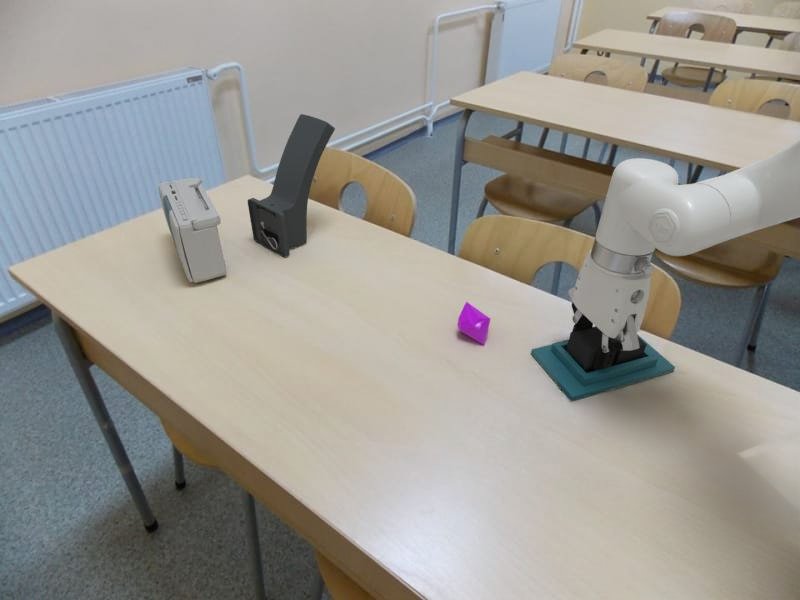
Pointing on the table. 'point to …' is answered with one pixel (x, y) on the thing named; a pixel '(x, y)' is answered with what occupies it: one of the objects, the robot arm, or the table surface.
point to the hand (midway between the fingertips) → (589, 353)
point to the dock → (597, 381)
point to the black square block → (585, 345)
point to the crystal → (473, 323)
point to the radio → (193, 228)
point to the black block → (629, 354)
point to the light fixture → (290, 188)
